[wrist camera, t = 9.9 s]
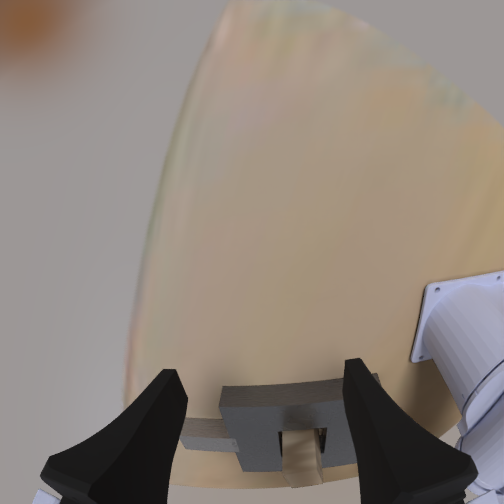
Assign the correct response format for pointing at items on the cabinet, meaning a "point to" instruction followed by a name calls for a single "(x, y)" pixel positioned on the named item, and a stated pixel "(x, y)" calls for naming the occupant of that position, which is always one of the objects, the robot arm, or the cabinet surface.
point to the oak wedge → (301, 458)
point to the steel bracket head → (274, 423)
